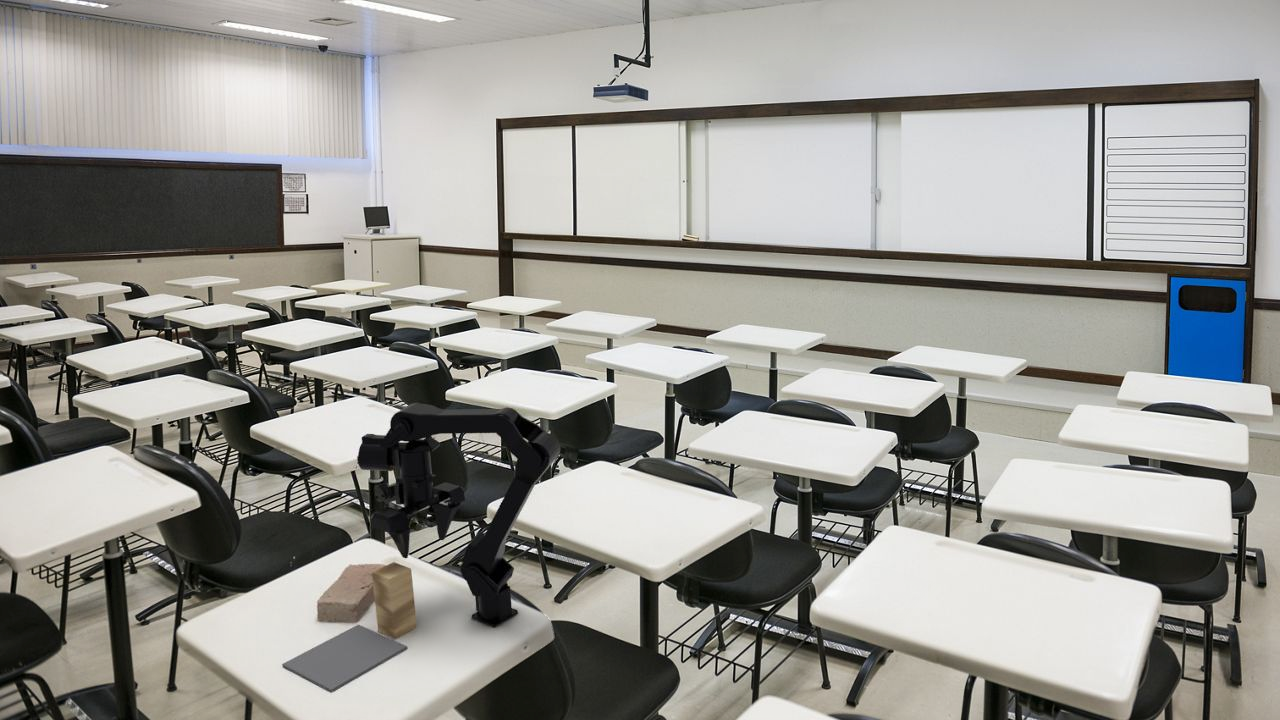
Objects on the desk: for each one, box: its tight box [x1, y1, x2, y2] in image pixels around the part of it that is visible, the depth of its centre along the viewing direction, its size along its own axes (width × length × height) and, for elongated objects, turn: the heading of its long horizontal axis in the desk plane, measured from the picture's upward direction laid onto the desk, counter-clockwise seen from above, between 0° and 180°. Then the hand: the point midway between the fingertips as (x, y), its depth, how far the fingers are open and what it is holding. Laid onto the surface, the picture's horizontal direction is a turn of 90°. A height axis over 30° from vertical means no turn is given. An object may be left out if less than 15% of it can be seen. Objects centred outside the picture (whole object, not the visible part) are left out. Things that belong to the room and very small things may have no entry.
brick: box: [316, 563, 387, 624], centre depth 181 cm, size 17×8×5 cm, turn 174°
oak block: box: [372, 561, 418, 640], centre depth 169 cm, size 5×5×12 cm
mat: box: [281, 623, 408, 693], centre depth 161 cm, size 14×16×1 cm
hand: (423, 548), depth 174 cm, fingers open, 9 cm apart
